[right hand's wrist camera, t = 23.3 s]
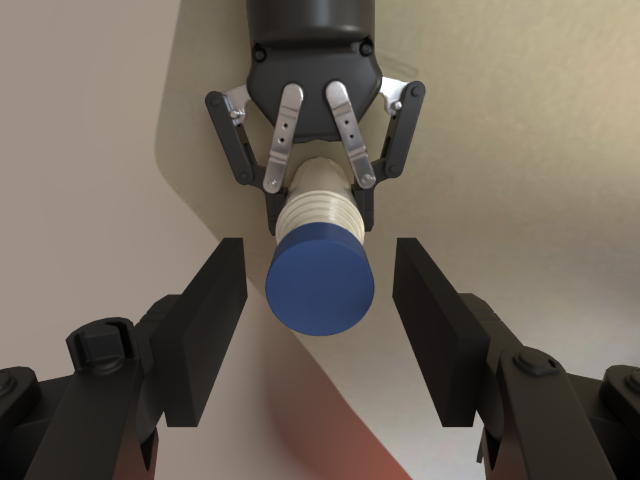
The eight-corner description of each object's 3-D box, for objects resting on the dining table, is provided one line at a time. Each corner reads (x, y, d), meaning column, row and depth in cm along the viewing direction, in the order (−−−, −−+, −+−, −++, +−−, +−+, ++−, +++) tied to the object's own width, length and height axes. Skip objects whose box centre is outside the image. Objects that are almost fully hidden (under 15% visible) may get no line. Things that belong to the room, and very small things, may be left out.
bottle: (321, 220, 32) (322, 351, 14) (282, 185, 31) (233, 283, 13) (357, 183, 30) (406, 278, 13) (318, 145, 29) (316, 195, 12)
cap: (325, 323, 16) (326, 353, 14) (253, 271, 15) (243, 296, 13) (386, 261, 14) (397, 284, 12) (313, 201, 14) (312, 217, 12)
